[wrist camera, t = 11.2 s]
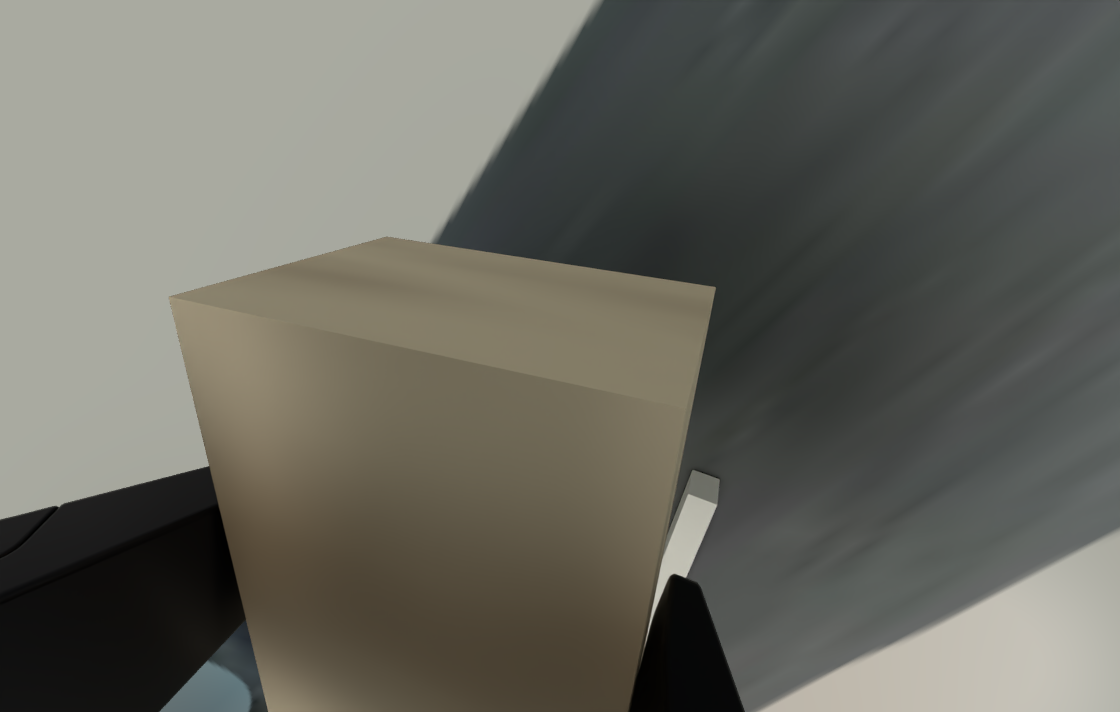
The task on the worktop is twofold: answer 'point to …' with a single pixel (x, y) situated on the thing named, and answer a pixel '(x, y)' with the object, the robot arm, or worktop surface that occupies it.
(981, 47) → the worktop surface
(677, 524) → the channel
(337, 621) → the birch block
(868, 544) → the worktop surface
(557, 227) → the worktop surface
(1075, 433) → the worktop surface
